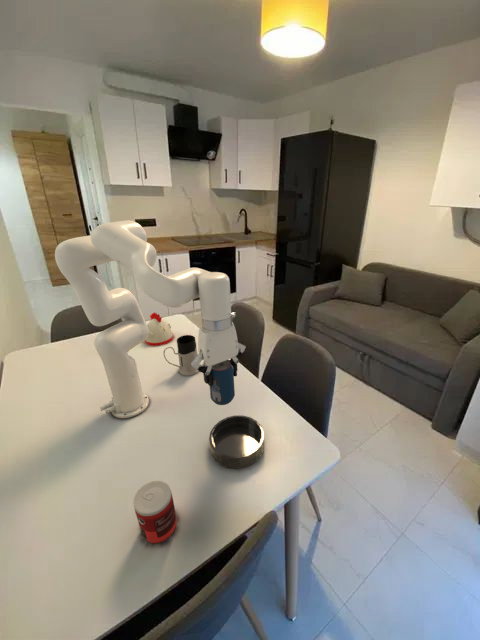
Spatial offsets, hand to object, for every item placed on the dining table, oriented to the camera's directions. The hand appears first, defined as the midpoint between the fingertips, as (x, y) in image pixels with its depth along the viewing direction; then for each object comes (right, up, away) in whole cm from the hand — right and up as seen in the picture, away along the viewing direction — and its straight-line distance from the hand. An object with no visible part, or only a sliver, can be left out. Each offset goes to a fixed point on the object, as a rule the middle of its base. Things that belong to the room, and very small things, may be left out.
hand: (221, 378), depth 81 cm
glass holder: (-23, -6, +44) cm, 50 cm away
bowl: (+4, -23, +8) cm, 24 cm away
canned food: (-13, -32, -13) cm, 37 cm away
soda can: (0, -7, +3) cm, 7 cm away
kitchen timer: (-42, +6, +70) cm, 82 cm away
